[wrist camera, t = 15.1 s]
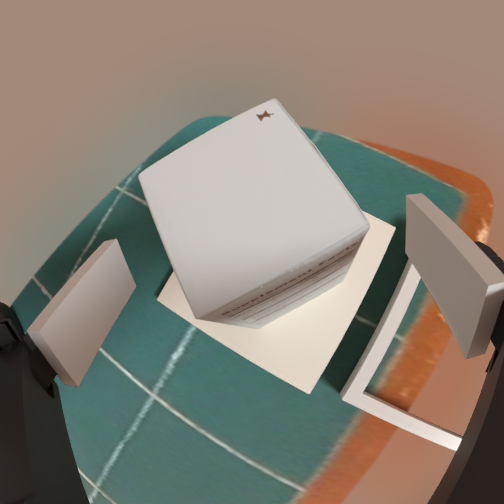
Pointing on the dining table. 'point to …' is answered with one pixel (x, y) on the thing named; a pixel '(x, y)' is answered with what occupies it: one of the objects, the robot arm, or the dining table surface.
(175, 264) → the supplement box
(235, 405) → the dining table surface
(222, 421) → the dining table surface
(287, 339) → the cream coaster
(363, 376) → the white square frame
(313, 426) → the dining table surface
